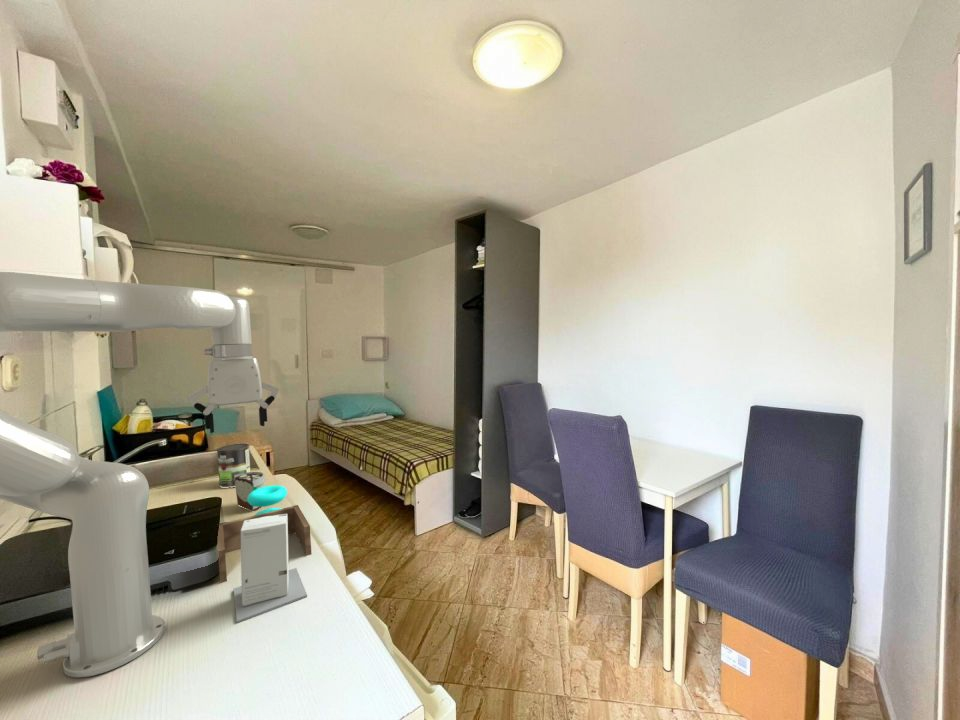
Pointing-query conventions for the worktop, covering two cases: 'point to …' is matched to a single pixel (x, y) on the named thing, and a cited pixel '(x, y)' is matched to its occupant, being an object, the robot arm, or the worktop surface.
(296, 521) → the wooden open bay
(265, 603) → the pad
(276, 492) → the donuts
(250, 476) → the food container
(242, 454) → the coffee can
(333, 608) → the worktop surface
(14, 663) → the worktop surface
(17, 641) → the worktop surface
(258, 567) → the skincare box
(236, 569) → the worktop surface
